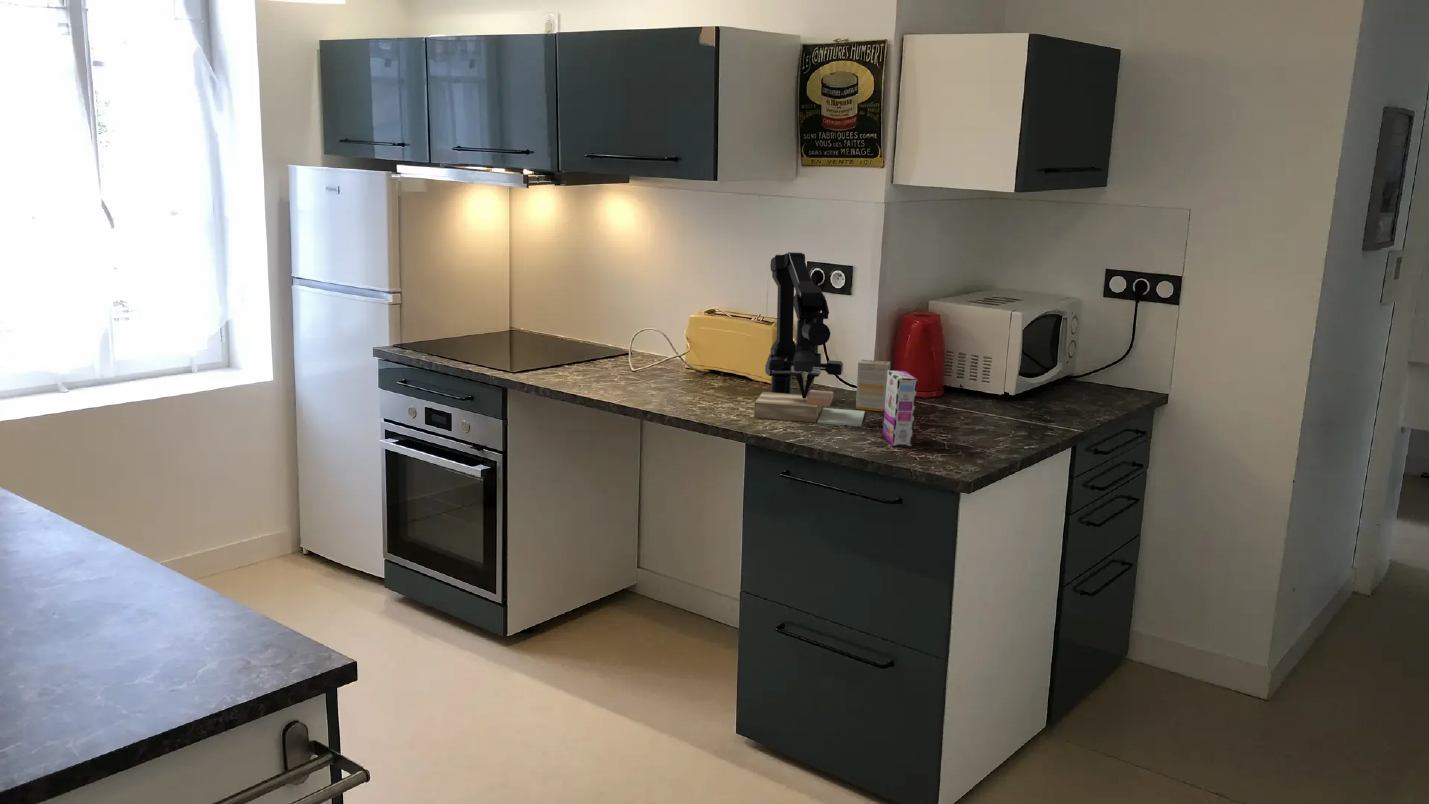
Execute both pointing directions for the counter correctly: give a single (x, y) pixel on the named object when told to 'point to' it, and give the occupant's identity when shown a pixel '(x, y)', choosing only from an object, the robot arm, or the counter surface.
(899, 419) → the candy bar box
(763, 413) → the board
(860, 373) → the supplement box
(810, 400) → the tile
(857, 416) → the mat
